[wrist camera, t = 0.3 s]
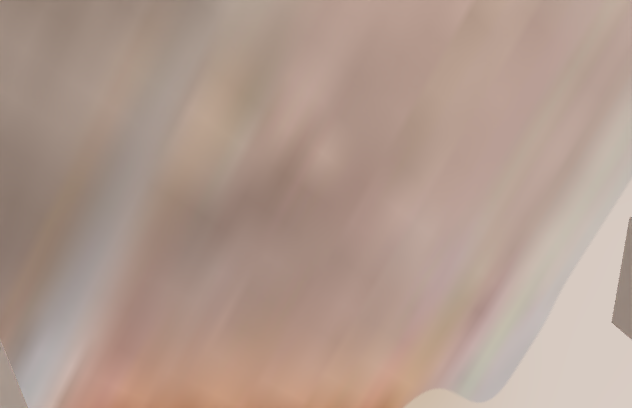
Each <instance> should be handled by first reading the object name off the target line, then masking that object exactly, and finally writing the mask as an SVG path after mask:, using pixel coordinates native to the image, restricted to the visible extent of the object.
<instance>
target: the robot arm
mask: <svg viewBox="0 0 632 408" xmlns="http://www.w3.org/2000/svg"><path fill="white" fill-rule="evenodd" d="M612 323H613V324H614V325H615V326H616V327H618V328H619V329H620V330H621V331H622V332H623V333H625V334H626V335H627V336H628V337H629V338H631V339H632V217H630V219H629V224H628V230H627V236H626V242H625V248H624V253H623V259H622V265H621V271H620V277H619V283H618V288H617V294H616V300H615V306H614V312H613V317H612ZM0 408H28V407H27V404H26V402H25V399H24V397H23V394H22V392H21V389H20V387H19V384H18V382H17V379H16V377H15V374H14V372H13V369H12V367H11V364H10V362H9V359H8V357H7V354H6V352H5V349H4V347H3V344H2V342H1V339H0Z"/></svg>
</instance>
